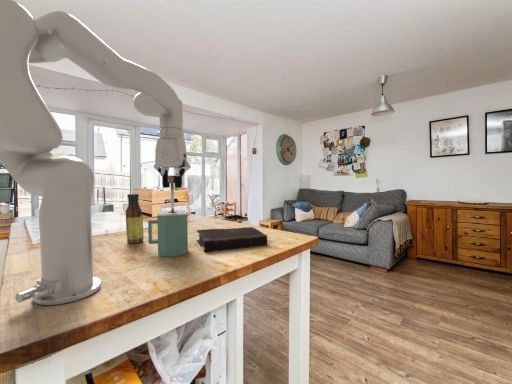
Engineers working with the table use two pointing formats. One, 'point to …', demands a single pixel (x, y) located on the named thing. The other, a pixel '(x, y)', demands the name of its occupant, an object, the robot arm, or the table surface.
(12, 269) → the table surface
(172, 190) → the plunger
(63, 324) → the table surface
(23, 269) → the table surface
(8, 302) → the table surface
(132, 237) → the sauce bottle
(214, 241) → the diary
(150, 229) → the press carafe
